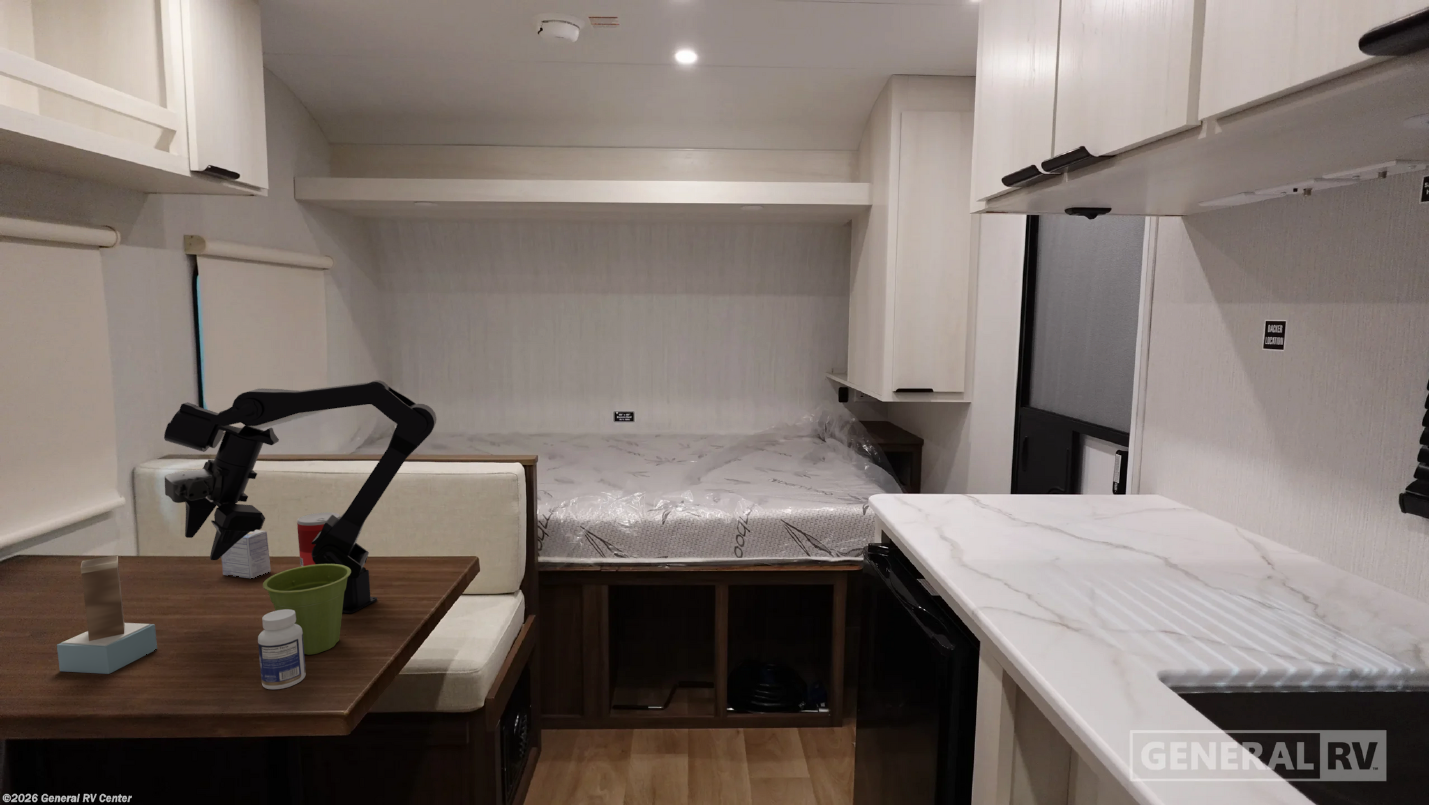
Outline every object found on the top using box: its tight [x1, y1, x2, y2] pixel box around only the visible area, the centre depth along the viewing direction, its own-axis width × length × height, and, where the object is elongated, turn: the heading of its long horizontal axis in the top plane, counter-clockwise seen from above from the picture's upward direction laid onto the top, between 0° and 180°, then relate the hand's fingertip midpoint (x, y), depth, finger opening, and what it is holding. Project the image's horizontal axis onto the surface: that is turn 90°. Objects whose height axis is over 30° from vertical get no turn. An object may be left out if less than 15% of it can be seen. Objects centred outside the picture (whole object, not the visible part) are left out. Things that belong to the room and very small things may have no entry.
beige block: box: [80, 555, 125, 641], centre depth 109 cm, size 4×4×11 cm
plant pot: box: [262, 564, 351, 656], centre depth 113 cm, size 12×12×11 cm
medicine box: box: [220, 529, 271, 579], centre depth 147 cm, size 8×4×9 cm, turn 71°
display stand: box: [56, 622, 158, 675], centre depth 110 cm, size 8×8×4 cm
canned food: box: [296, 512, 341, 567], centre depth 149 cm, size 8×8×11 cm
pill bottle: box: [257, 609, 307, 690], centre depth 103 cm, size 5×5×10 cm
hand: (200, 548), depth 122 cm, fingers open, 9 cm apart
